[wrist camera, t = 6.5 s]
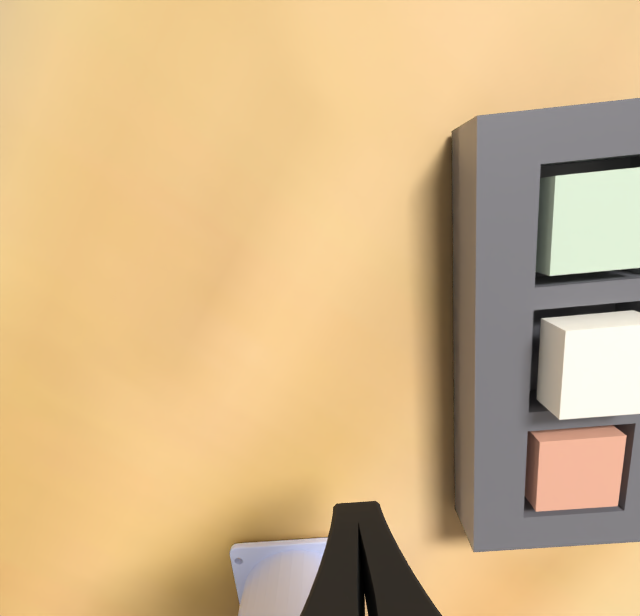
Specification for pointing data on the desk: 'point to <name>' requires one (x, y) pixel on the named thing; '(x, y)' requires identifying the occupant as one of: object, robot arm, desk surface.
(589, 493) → the terracotta key
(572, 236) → the sage key
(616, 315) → the cream key
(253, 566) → the robot arm
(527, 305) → the keypad
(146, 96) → the desk surface
